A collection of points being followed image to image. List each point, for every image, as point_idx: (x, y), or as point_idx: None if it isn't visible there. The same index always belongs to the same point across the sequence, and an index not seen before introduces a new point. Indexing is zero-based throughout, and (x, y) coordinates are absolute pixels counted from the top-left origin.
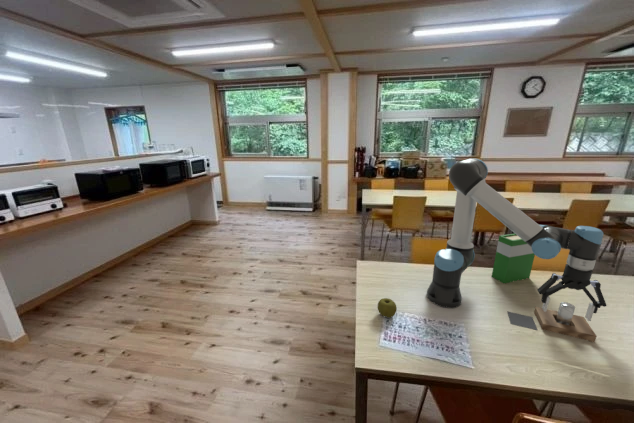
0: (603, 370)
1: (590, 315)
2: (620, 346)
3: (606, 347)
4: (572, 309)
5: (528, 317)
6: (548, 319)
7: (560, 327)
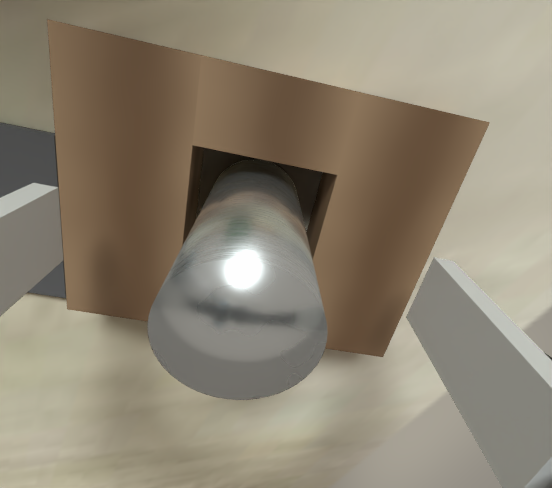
0: (274, 464)
1: (439, 366)
2: None
3: (406, 342)
4: (262, 386)
5: (20, 154)
6: (125, 246)
7: None
